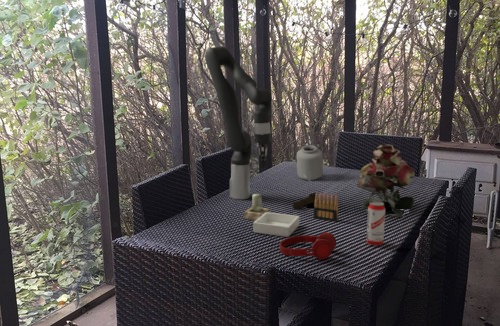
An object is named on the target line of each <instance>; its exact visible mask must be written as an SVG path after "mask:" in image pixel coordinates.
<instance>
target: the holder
mask: <svg viewBox="0 0 500 326" xmlns="http://www.w3.org/2000/svg"><path fill="white" fill-rule="evenodd" d="M265 212H270V208H267V207H262V212H261V213H257V212H252V206H250V207H249V208H248V209H247V210H245V211H244V212H243V213H244V214H243V216H244V217H243V219H245V220H252V221H256V220H257V219H258V218H259V217H261V216H262V215H263V214H264V213H265Z"/></svg>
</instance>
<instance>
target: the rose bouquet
mask: <svg viewBox="0 0 500 326" xmlns="http://www.w3.org/2000/svg"><path fill="white" fill-rule="evenodd" d="M400 153H401V151H400V150H398V149H396V148H394V145H393V144H380V145H379V146H377V147H376V150H373V153H372V154H373V156H374V158H371V162H369V163H368V164H366V165H364V166H363V167H362V168H361V169H360V170H359V174H360V176H359V179H360V180H357V184H356V186H357V188H360V189H362V190H365V191H367V192H370V194H369V197H367V198H366V199H363V200H362V201H361V203H362V205H363V206H362V207H361V209H365V212H366V213H368V207H369V205H370V202H374V201H377V202H382V203H384V207H385V215H387V214H386V213H387V212H386V209H387V208H389V207H390V208H391V211H392V212H394V213H393V214H391V213H390V216H393V217H396V218H399V217H401V216H402V215H403V213H404V211H401V210H397V209H410V210H412V209H413V207H414V204H415V198H414V197H413V196H402V197H401V195H400V189H402V190H407V191H408V190H409V188H406V187H408V186H410V185H411V182H412V181H413V178H414V177H415V173H416V172H415V171H414V169H413V168H412V167H410V165H408V163H407V162H406V161H404V160H403V157H402V156H398V155H400ZM395 187H396V188H398V189H396V190H395ZM389 190H390V193H389V194H388V191H389ZM374 195H377V196H379V198H378V197H374Z"/></svg>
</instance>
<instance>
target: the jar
mask: <svg viewBox="0 0 500 326" xmlns="http://www.w3.org/2000/svg"><path fill="white" fill-rule="evenodd" d="M308 139H310V137H309V138H308ZM310 140H311V139H310ZM309 144H310V145H309ZM309 144H308V143H306V145H304V146H302V147H301V148H300V149H299V150H298V151H297V152H296V171H297V172H296V173H297V176H298V177H299V179H302V180H304V181H305V180H306V181H315V180H318V179H319V178H321V177H322V176H323V174H324V165H323V164H324V163H323V162H324V161H323V151H322V150H321V149H320V148H319V149H318V147H317V146H316V145H313V144H312V145H311V142H309Z"/></svg>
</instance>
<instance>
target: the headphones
mask: <svg viewBox="0 0 500 326" xmlns="http://www.w3.org/2000/svg"><path fill="white" fill-rule="evenodd" d="M297 243H298V244H299V243H312V246H311V248H288V247H287V246H290V245H293V244H297ZM336 246H337V240H336V237H335V236H334V234H332V233H330V232H327V231H326V232H322V233H320V234H319V235H296V236H295V235H294V236H291V237H290V236H289V237H286V238H285V239H283V240H281V242H280V243H279V252H280V253H282V254H283V255H285V256H289V257H290V256H292V257H306V256H309V257H313V256H314V257H315V258H316V259H317V260H325V259H326V260H327V258H329V257H330V256H331V254H332V251H334V249H335V248H336ZM310 251H311V252H310Z"/></svg>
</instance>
